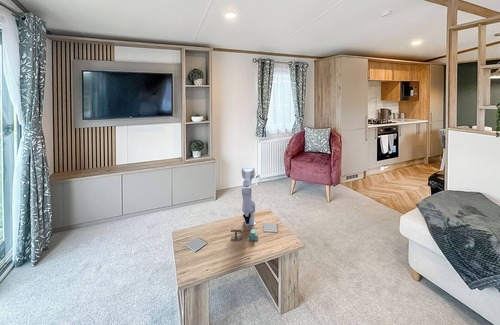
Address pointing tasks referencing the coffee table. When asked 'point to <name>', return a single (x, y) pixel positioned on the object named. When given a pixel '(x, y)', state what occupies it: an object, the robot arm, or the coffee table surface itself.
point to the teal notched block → (252, 234)
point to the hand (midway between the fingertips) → (247, 221)
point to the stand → (236, 237)
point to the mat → (255, 238)
